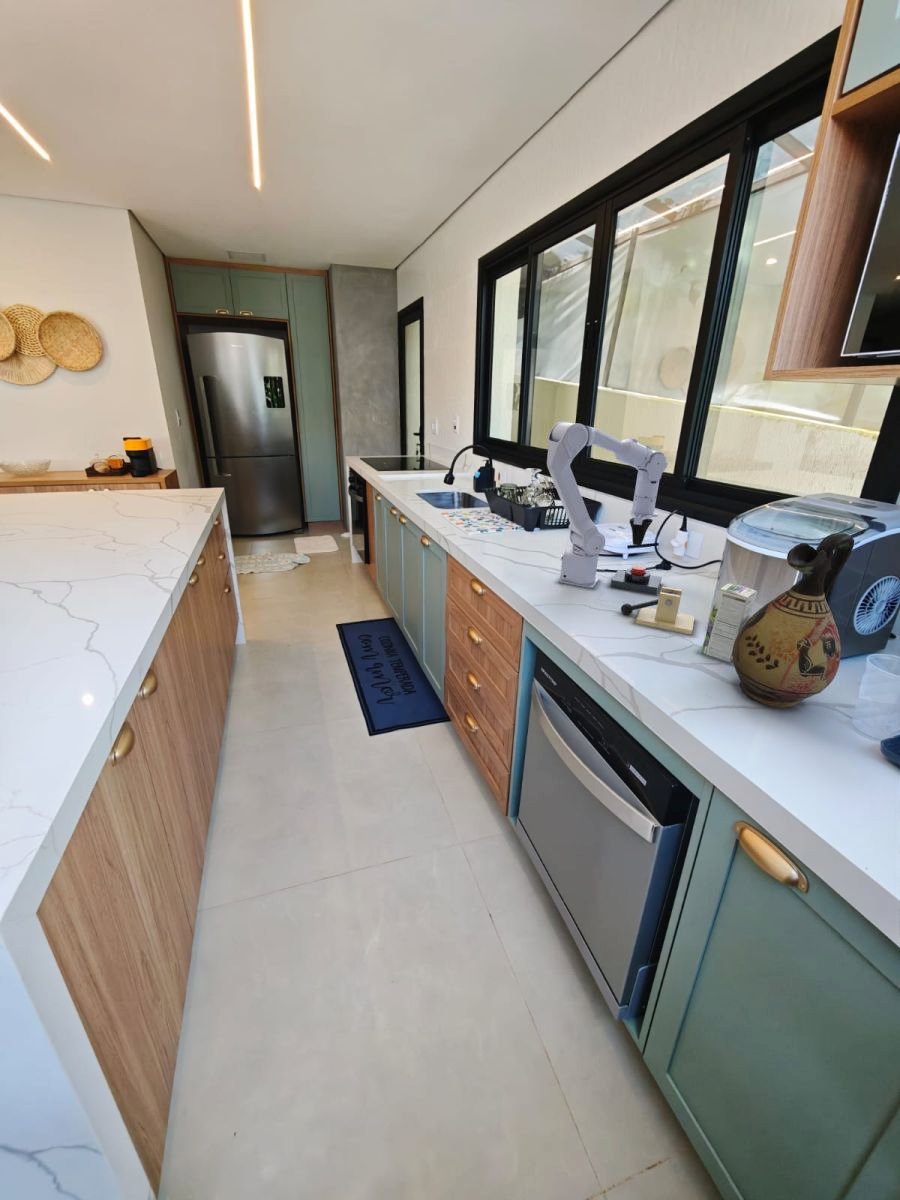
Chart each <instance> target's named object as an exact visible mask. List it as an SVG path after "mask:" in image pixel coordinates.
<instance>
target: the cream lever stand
mask: <svg viewBox="0 0 900 1200" xmlns="http://www.w3.org/2000/svg"><path fill="white" fill-rule="evenodd" d="M673 591H675V593H676V595H674V594H669V592H673ZM682 594H683V589H679V588H672V587H666V586H662V587H661V590H660V592H659V596H658V599H659V600H658V605H656V608H653V607H650V606H649V607H645V608H641V609H639V612H638V614H637V617H636V619H635V624H637V625H642V626H647V627H652V628H656V629H660V630H661V629H662V630H665V631H671V632H676V633H681V634H686V635H690V636H691V635H692V634H693V629H694V623H695V617H696V616H695V615H691V614H686V613H682V612H681V613H680V612H679V609H680V608H679V607H680V603H681V599H682Z"/></svg>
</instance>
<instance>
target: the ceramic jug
mask: <svg viewBox="0 0 900 1200" xmlns="http://www.w3.org/2000/svg"><path fill="white" fill-rule="evenodd" d="M854 546H855V539H854V538H853V536H852V535H850V534H848V533H844V532H842V533H835V532H834V533H831V534H829V535H827V536H825V537H824V538H823V539H822V540H821V541H820V542H819V544H818V545H817V547H816V548H815V547H813V546H811V545H810V544H809V543H806V542H800V543H799V544H796V545H794V546H793V547H792V548H791V549H789V551H788V552H787V555H786V562H787V565H789V566H790V567H791V568H792V569H794V570H795V571H798V572H800V573H801V574H802V575H801V578H800V580H798V581H796V583H795V584H793V585H792V586H791V587H790V588H789V589H788V590H785V591H784V592H782V593H780V594H779V595H777V596H776V597H775V598H774V599H772V600H770V601H769V602H767V603H766V604H765V605H764V606H763V605H762V607H761V608H759V609H758V610H757V611H756V612H754V613H753V614H752V615H751V616H750V619H749V620H748V621H747V622H746V623H745V625H744V626H743V628H742V629H741V631H740V632H739V634H738V635H737V637H736V639H735V642H734V645H733V651H732V656H733V660H732V663H733V667H734V670H735V672H736V675H737V676H738V679H739V680H740V682H739V684H738V685H739V688H740V689H741V691H742V693H743V694H744V695H745V696H746V697H747V698H748V699H751V700H754V701H757V702H758V703H761V704H763V705H766V706H769V707H772V708H780V709H786V708H793V707H795V706H796V705H798V704H799V703H800V702H802V701H805V700H807V699H809V698H811V697H815V696H816V695H819V694H821V692H823V691H824V690H825V689H827V688H828V686H830V685H831V683H832V682H833V681H834V680H835V677H836V676H837V673H838V670H839V667H840V663H841V657H842V647H841V639H840V635H839V630H838V628H837V624H836V622H835V619H834V616H833V613H832V610H831V608H830V606H829V605H828V602H827V597H828V593H829V591H830V588H831V587H832V586H833V584H834V582H835V580H836V578H837V577H838V576H839V574H840V573H841V572H842V571H843V568H844V566H845V564H846V563H847V562H848V560H849V558H851V555H852V552H853V549H854V548H855V547H854Z"/></svg>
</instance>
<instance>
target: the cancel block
mask: <svg viewBox="0 0 900 1200" xmlns="http://www.w3.org/2000/svg"><path fill="white" fill-rule="evenodd" d="M631 570H632V568H626V569H625V570H622V569H617V571H616V572H615V574H614V576H613V577H612V579H611V580H610V588H614V589H620V590H626V591H631V592H636V593H642V594H648V595H652V596H653V595H654V596H657V593H658V591H659V589H660V587H661V584H662V580H663V579H662V578H663V576H660V575H653V574H651V572H650V571H648V570H647V569H646V570H645V574H644V575H637V574H633V573H631Z"/></svg>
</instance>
